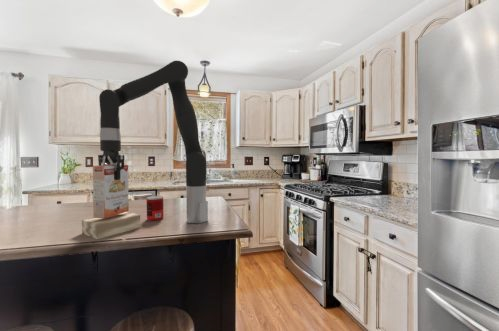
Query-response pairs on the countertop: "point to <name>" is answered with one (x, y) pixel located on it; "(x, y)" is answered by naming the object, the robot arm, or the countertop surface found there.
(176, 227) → the countertop surface
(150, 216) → the canned food
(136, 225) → the folded beige towel
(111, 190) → the cracker box
